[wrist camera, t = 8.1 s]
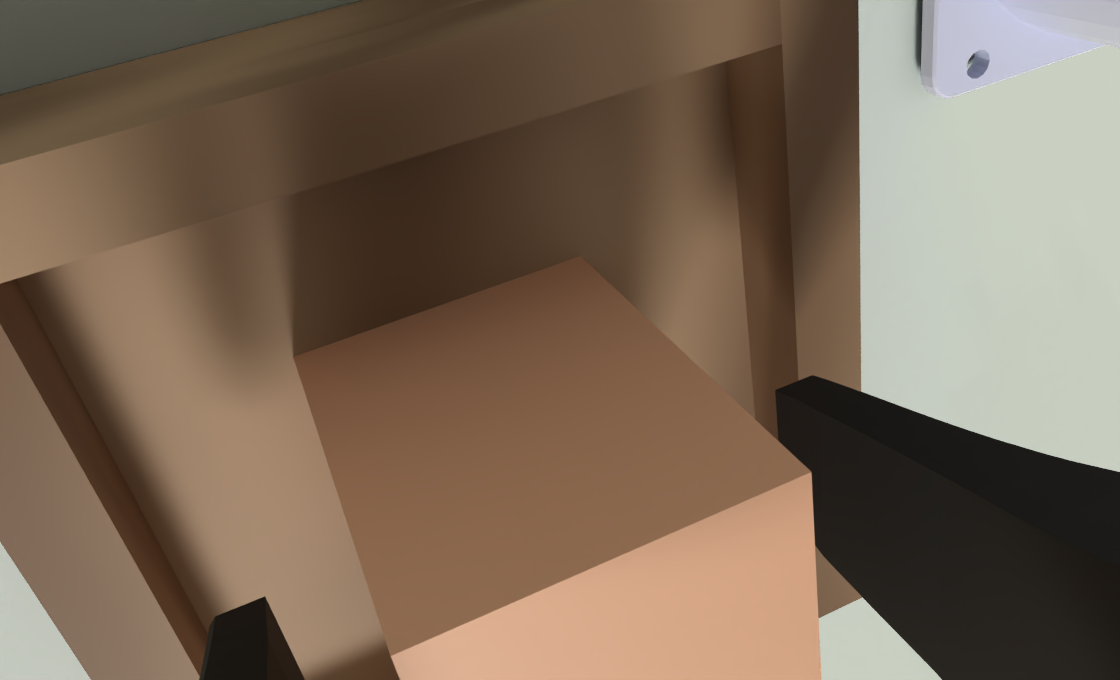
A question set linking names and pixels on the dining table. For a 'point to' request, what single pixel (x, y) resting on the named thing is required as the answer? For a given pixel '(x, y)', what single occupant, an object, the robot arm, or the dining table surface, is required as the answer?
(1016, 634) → the robot arm
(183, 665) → the wooden tray
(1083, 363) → the dining table surface
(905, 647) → the dining table surface
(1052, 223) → the dining table surface
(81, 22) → the dining table surface
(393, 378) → the terracotta block
